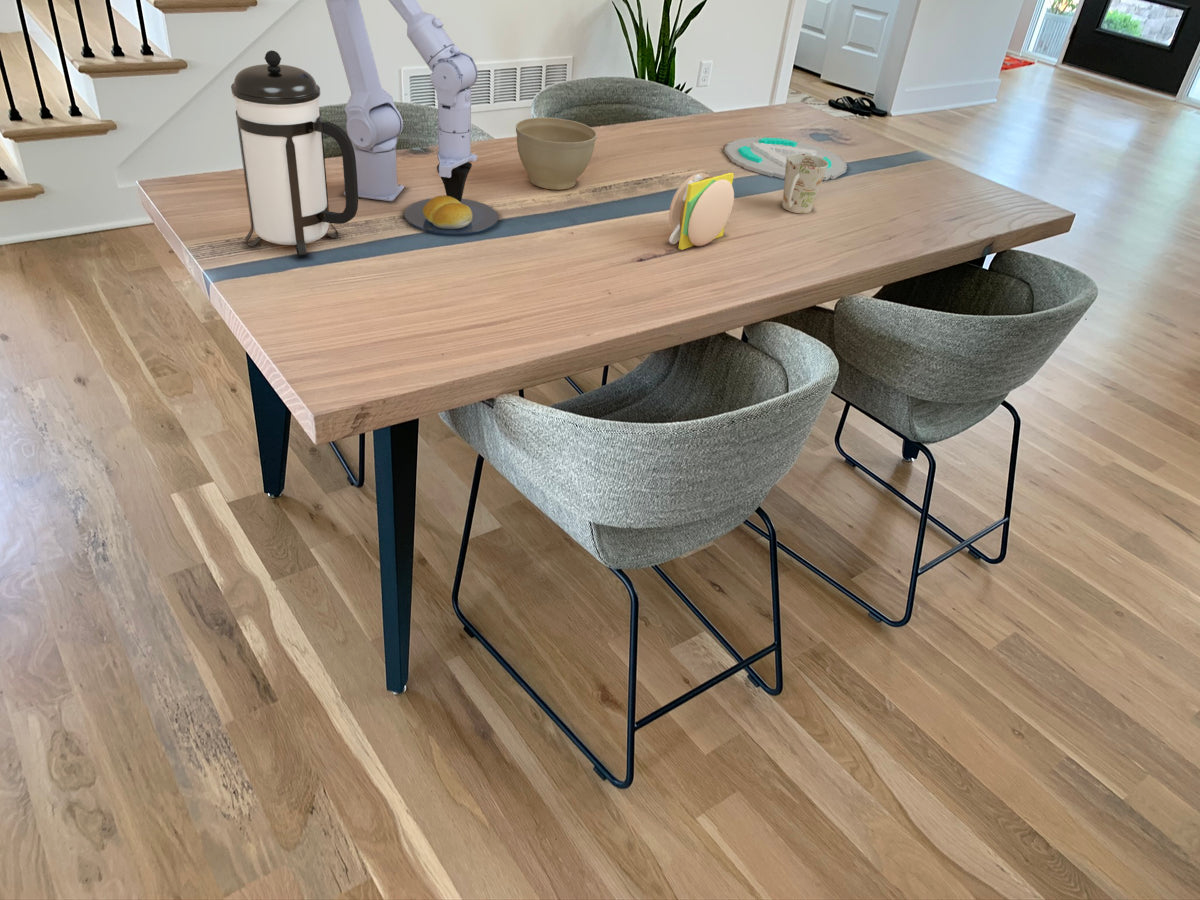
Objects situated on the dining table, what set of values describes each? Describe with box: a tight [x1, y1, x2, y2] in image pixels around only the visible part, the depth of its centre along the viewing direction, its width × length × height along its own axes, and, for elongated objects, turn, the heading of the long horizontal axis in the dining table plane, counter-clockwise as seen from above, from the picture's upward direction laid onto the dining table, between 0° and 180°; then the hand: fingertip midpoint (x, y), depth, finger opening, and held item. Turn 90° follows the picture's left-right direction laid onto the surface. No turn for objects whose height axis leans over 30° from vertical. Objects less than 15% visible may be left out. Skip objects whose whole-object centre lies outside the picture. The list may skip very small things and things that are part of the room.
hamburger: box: [668, 172, 735, 251], centre depth 165 cm, size 12×8×12 cm
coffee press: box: [230, 50, 359, 259], centre depth 142 cm, size 17×16×30 cm
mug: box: [781, 154, 828, 214], centre depth 182 cm, size 8×13×10 cm, turn 155°
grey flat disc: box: [723, 136, 848, 182], centre depth 212 cm, size 28×28×2 cm
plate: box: [404, 197, 499, 237], centre depth 165 cm, size 17×17×1 cm
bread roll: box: [423, 195, 472, 229], centre depth 162 cm, size 8×9×4 cm
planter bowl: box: [515, 117, 598, 191], centre depth 182 cm, size 16×16×11 cm
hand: (454, 203), depth 166 cm, fingers closed
